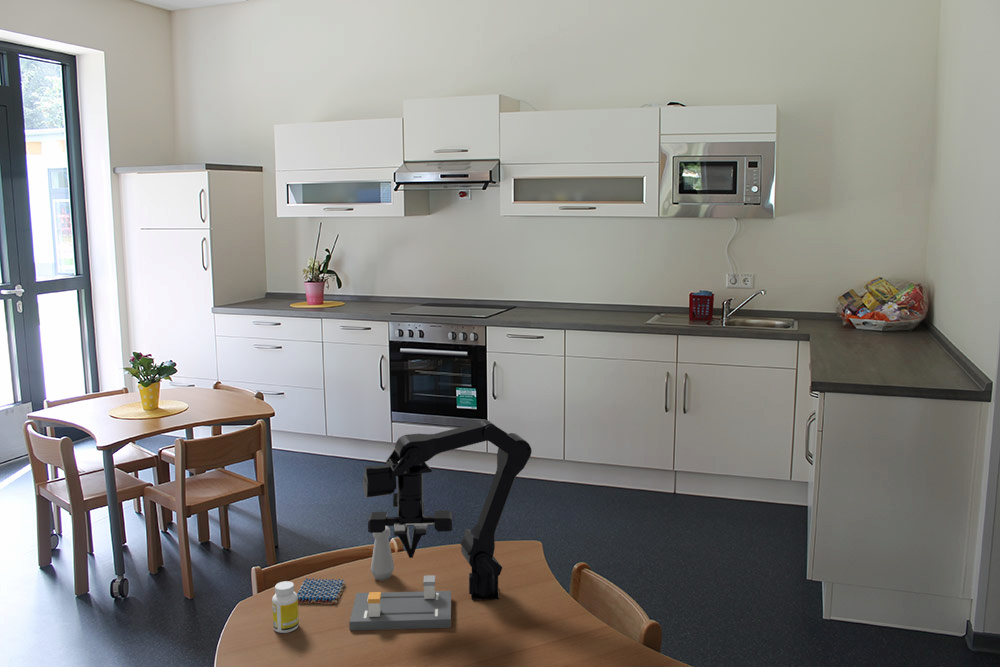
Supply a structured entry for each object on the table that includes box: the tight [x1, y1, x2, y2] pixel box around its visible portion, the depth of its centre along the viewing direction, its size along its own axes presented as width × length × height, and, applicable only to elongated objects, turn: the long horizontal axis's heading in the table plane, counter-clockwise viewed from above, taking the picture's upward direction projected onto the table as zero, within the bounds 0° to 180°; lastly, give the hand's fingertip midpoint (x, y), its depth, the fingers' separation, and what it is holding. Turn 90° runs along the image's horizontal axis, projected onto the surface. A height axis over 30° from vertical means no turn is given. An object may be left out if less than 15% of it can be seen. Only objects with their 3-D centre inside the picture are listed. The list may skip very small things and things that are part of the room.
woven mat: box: [296, 577, 346, 605], centre depth 191 cm, size 10×11×2 cm
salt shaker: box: [370, 526, 395, 582], centre depth 199 cm, size 6×6×13 cm
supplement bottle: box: [271, 580, 300, 634], centre depth 175 cm, size 5×5×10 cm
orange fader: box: [368, 591, 382, 617], centre depth 178 cm, size 3×3×4 cm
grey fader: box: [422, 574, 436, 599], centre depth 186 cm, size 3×3×4 cm
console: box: [348, 590, 452, 631], centre depth 182 cm, size 22×13×2 cm, turn 93°
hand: (411, 557), depth 184 cm, fingers closed
